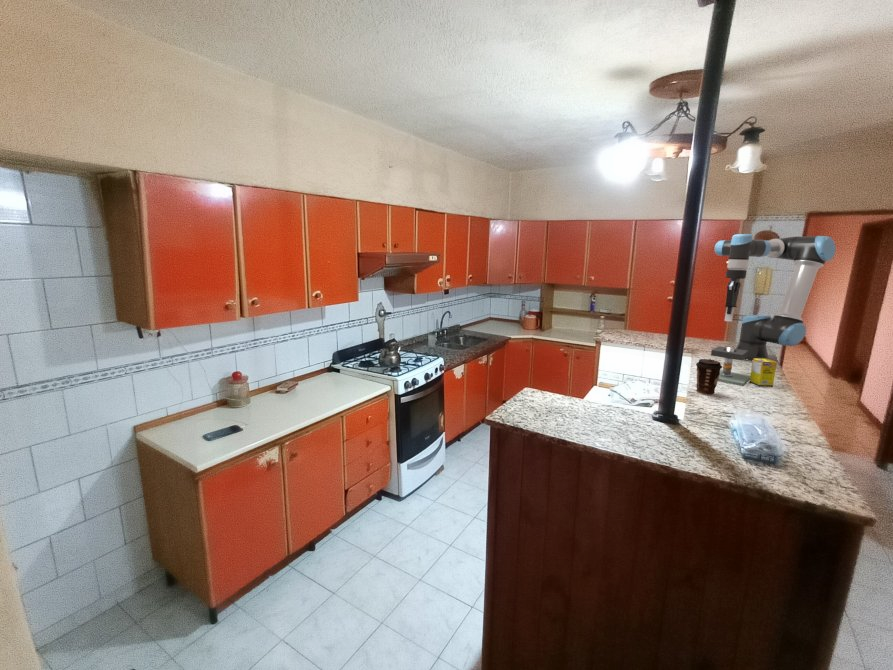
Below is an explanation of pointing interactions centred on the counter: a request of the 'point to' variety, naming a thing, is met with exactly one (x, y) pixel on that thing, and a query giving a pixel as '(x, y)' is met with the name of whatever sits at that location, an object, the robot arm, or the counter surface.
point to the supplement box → (763, 372)
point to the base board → (734, 379)
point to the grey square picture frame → (729, 353)
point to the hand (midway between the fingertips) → (728, 321)
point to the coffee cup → (707, 376)
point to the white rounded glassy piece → (727, 364)
